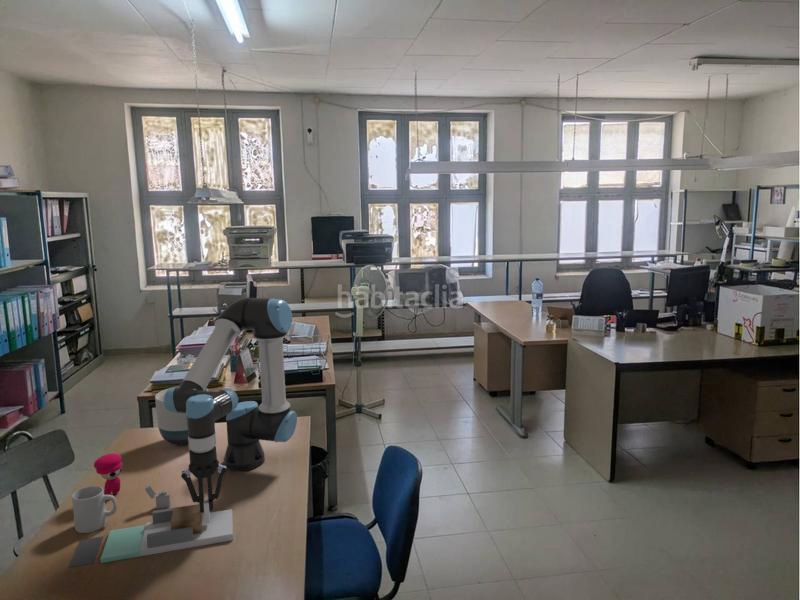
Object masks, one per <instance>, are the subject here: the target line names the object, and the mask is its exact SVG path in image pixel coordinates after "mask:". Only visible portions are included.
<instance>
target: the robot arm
mask: <svg viewBox="0 0 800 600" xmlns="http://www.w3.org/2000/svg"><path fill="white" fill-rule="evenodd" d="M292 323H293V313H292V310H291V306H290V305H289V304H288V302H287V301H285V300H284V299H277V298H269V297H268V298H267V297H266V298H261V297H242V298H240V299H237V300H235V301H234V302H232V303H231V304H229V305H228V306H227V307H226V308H225V309H224V310H222V312H221V313H220V314H219V316H218V317H217V318H216V320H215V321H214V328H213V330H212V332H211V334H210V335H209V337H208V338H207V340H206V342H205V343H204V344H203V345H204V346H203V347H202V348H201V350H200V352H199V354H197V356H196V359H195V360H194V361H193V364H192V365H191V367H190V368H189V370H188V372H187V373H186V375H185V376H184V378H183V380H182V381H181V383H180V384H179V387H178V386H174V387H175V388H173V387H170V389H169V388H168V389H169V390H168V391H167V392H166V393H165V396H164V406H165V408H166V409H167V410H169V411H172V412H177V413H186V416H187V425H188V442H189V445H188V449H189V453H188V454H189V465H188V468H187V469H186V470H182V471H181V474H180V477H181V479H182V480H183V481H184V482H185V484H186V487H187V490H188V492H189V495H190V498H191V500H192V503H195V504H196V503H199V504H200V512H201V513H202V514H204V517H205V524H206V523H210V513H211V512H214V500H218V499H219V498H220V493H221V488H222V484H223V483H222V482H223V478H224V476H225V473H226V472H227V469H228V470H230V471H237V472H238V471H239V472H241V471H242V472H243V471H248V470H253V469H255V467H256V468H257V467H260V466H261V465H263V463H264V462H265V461H266V460H265V459H266V457H265V455H266V454H265V452H264V449H263V447H262V444H261V442H260V441H268V442H269V441H270V442H274V443H286V442H288V441H289V440H290V439H292V437H293V435H294V434H295V433H294V432H295V431H296V427H297V424H298V423H297V422H298V414H297V412H295V411H294V410H291V403H290V402H289V401H288V400H287V398H286V384H285V383H286V377H285V360H284V357H285V356H284V341H283V339H285V337H287V333H288V332H289V331H290V330H291V328H292ZM246 330H248V331H249V330H250V331H253V338H254V339H255V340H256V341H257V342H258V353H259V354H258V356H259V370H260V371H259V372H260V387H261V403H260V404H258V402H257V401H254V400H249V401H248V400H247V401H240V402H239V396H238V394H237V393H236V391H234V390H233V389H231V388H228V387H227V388H223V389H219V390H218V391H211V390H208V391H204V390H205V389H206V388H207V387H208V385H209V383H210V382H211V380H212V378H213V376H214V375H215V373H216V371H217V369H218V367H219V366H220V364H221V363H222V360H223V359H224V358H225V355H226V353H227V352H228V350H229V348H230V347H231V345H232V343H233V342H234V340H235V339H236V338H238V337H240V336H241V333H242V332H243V331H246ZM177 387H178V388H177ZM224 417H226V418H225V420H226V421H225V422H226V434H227V435H226V437H227V447H226V450H225V453H224V457H223V465H222V464H220V461H219V460H218V456H217V455H218V454H217V453H218V452H217V445H216V444H217V439H216V427H215V426H216V425H215V423H216V422H218V421H219V420H221V419H222V418H224ZM259 465H260V466H259ZM216 471H217V472H218V476H217V480H216V486H215V490H214V491H213V482H212V481H213V477H212V476H213V475H214V474H215V473H216ZM191 475H193V476H194V477H195V478H196V479H197V485H198V486H197V487H198V489H197V490H198V494H197V491H196V489H195V486H194V484H193V483H194V482H193V480H192V478H191ZM203 479H206V484H207V485H206V486H207V496H208V498H205V496H204V482H203V481H204V480H203ZM213 492H214V493H213Z"/></svg>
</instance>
